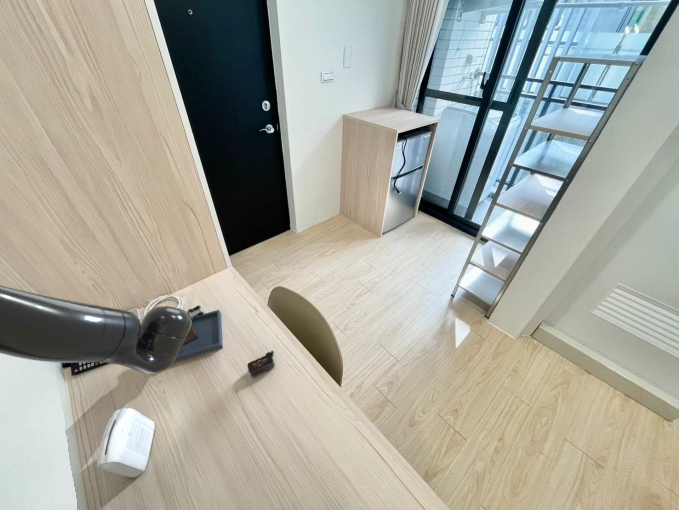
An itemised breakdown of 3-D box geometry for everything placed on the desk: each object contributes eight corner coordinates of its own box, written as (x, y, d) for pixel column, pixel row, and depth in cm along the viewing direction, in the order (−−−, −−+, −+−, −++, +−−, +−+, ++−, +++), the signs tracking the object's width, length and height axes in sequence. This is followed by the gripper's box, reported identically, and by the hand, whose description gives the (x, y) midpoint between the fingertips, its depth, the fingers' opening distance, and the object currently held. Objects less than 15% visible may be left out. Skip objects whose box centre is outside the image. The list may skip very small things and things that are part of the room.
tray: (155, 368, 72) (151, 364, 71) (160, 329, 80) (157, 326, 79) (222, 347, 76) (220, 344, 75) (221, 313, 85) (219, 309, 83)
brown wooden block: (198, 338, 75) (188, 324, 70) (183, 346, 73) (171, 332, 68) (189, 318, 79) (179, 303, 74) (175, 325, 77) (163, 311, 72)
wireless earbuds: (278, 366, 73) (276, 361, 71) (252, 378, 70) (249, 373, 68) (273, 351, 76) (271, 346, 73) (248, 362, 73) (245, 357, 71)
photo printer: (137, 425, 63) (106, 407, 54) (157, 419, 63) (130, 402, 55) (123, 480, 55) (85, 470, 47) (146, 474, 56) (112, 463, 48)
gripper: (195, 296, 62) (197, 295, 77) (126, 329, 56) (144, 320, 71) (211, 324, 63) (210, 317, 78) (145, 360, 56) (158, 345, 72)
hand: (178, 319), depth 74 cm, fingers closed on brown wooden block, 2 cm apart
